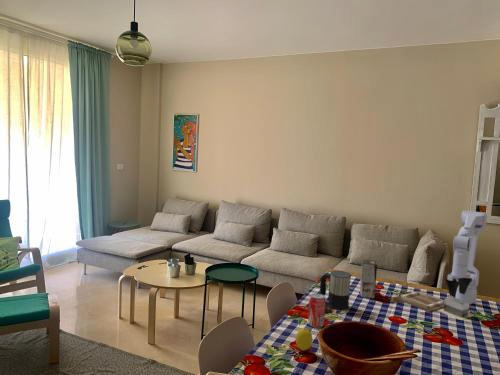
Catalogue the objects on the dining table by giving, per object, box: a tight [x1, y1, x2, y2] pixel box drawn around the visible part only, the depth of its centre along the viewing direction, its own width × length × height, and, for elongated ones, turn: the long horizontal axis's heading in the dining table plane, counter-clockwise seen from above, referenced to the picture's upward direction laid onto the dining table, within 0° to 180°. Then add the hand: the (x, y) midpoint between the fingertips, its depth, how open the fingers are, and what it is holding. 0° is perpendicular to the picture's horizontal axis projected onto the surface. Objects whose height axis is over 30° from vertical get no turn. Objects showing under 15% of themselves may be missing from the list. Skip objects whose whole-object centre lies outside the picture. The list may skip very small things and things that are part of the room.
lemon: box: [295, 327, 313, 352], centre depth 135 cm, size 6×6×8 cm
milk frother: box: [319, 270, 352, 313], centre depth 174 cm, size 14×16×15 cm
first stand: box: [436, 308, 476, 321], centre depth 171 cm, size 11×11×2 cm
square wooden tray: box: [392, 291, 445, 313], centre depth 183 cm, size 18×18×3 cm
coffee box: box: [359, 259, 378, 299], centre depth 193 cm, size 9×6×16 cm
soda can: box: [307, 292, 327, 329], centre depth 155 cm, size 6×6×12 cm
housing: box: [444, 296, 470, 317], centre depth 171 cm, size 5×8×6 cm, turn 34°
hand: (457, 294), depth 171 cm, fingers open, 7 cm apart
